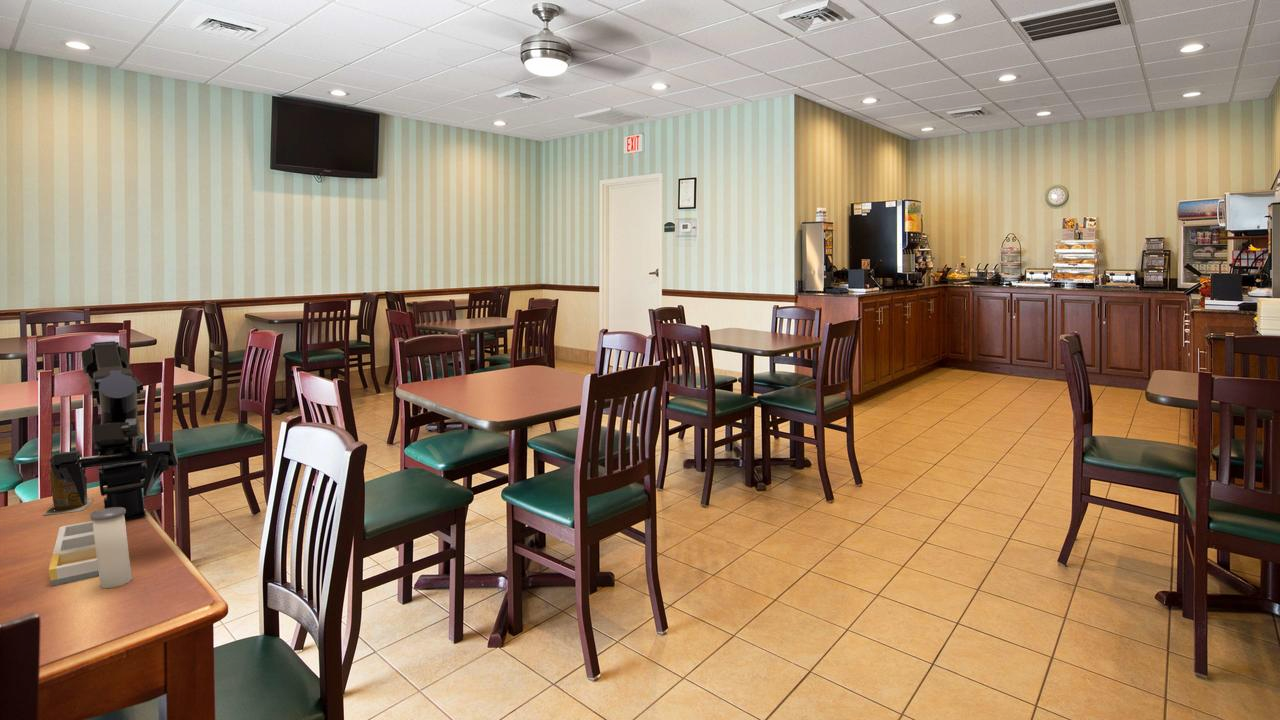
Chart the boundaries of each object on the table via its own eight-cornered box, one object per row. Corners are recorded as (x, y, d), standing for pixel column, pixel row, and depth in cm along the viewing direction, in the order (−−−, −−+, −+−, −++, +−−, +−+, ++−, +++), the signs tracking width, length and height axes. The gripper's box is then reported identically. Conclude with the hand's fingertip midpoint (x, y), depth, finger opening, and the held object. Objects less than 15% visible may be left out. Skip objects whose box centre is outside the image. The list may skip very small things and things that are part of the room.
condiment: (93, 499, 167) (86, 450, 165) (83, 510, 159) (76, 459, 157) (54, 504, 164) (47, 454, 162) (43, 516, 156) (35, 464, 154)
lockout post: (133, 573, 128) (125, 505, 126) (133, 583, 124) (125, 513, 122) (98, 580, 125) (90, 511, 123) (97, 591, 121) (89, 519, 119)
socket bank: (110, 531, 147) (109, 517, 147) (107, 573, 128) (105, 558, 128) (61, 540, 143) (60, 526, 142) (50, 586, 123) (48, 570, 123)
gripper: (45, 410, 127) (36, 487, 119) (169, 399, 135) (168, 470, 127) (62, 442, 135) (55, 516, 127) (178, 430, 143) (177, 498, 135)
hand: (114, 499), depth 129 cm, fingers open, 9 cm apart
